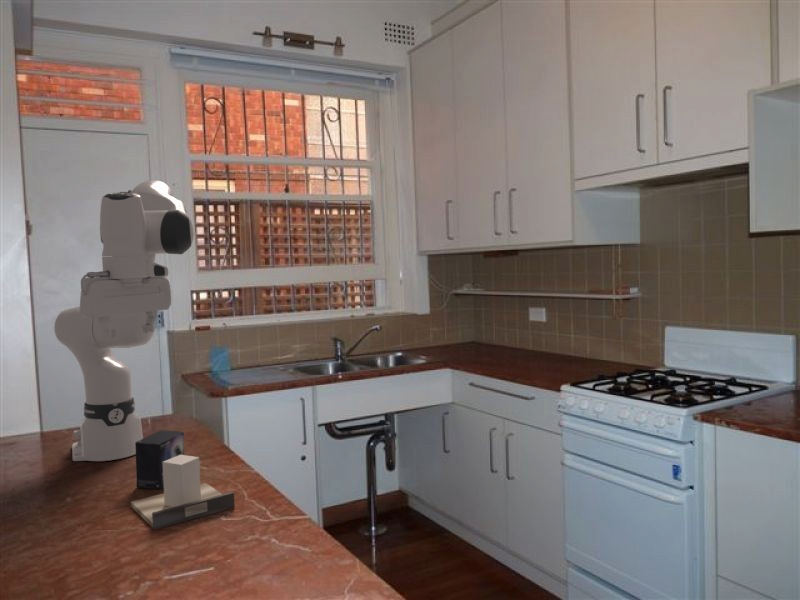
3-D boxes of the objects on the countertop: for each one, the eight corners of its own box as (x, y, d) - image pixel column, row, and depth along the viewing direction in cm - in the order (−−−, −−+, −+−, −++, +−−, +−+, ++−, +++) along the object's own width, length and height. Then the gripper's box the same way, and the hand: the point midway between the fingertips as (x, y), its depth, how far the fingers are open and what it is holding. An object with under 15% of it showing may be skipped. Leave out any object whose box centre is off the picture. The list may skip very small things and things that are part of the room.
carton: (164, 505, 129) (162, 461, 129) (183, 496, 134) (181, 454, 133) (183, 508, 127) (181, 464, 127) (201, 499, 132) (200, 456, 131)
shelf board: (130, 506, 132) (130, 492, 132) (206, 487, 142) (205, 474, 142) (155, 530, 120) (154, 514, 120) (235, 507, 130) (234, 493, 130)
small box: (161, 490, 141) (159, 443, 140) (135, 488, 142) (132, 442, 141) (187, 473, 151) (185, 430, 150) (162, 472, 152) (160, 429, 152)
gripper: (91, 272, 123) (95, 343, 124) (174, 268, 141) (177, 330, 142) (70, 272, 126) (75, 341, 127) (154, 268, 144) (157, 329, 145)
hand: (129, 335), depth 135 cm, fingers open, 8 cm apart
